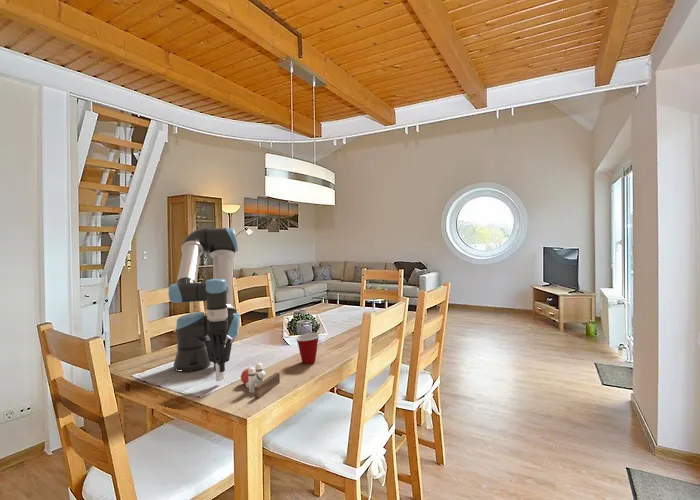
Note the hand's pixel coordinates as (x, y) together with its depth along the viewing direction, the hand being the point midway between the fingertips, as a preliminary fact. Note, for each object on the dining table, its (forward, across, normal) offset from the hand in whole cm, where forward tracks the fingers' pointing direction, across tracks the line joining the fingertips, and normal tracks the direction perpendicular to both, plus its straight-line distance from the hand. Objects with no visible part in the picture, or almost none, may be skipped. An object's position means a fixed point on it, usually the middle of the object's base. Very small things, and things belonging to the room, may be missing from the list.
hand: (219, 379), depth 151 cm
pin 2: (+2, +16, +2) cm, 16 cm away
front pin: (+1, +12, 0) cm, 13 cm away
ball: (-1, +11, +4) cm, 11 cm away
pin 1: (+2, +16, -2) cm, 16 cm away
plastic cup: (+2, +22, +33) cm, 40 cm away
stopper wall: (+2, +21, 0) cm, 21 cm away
